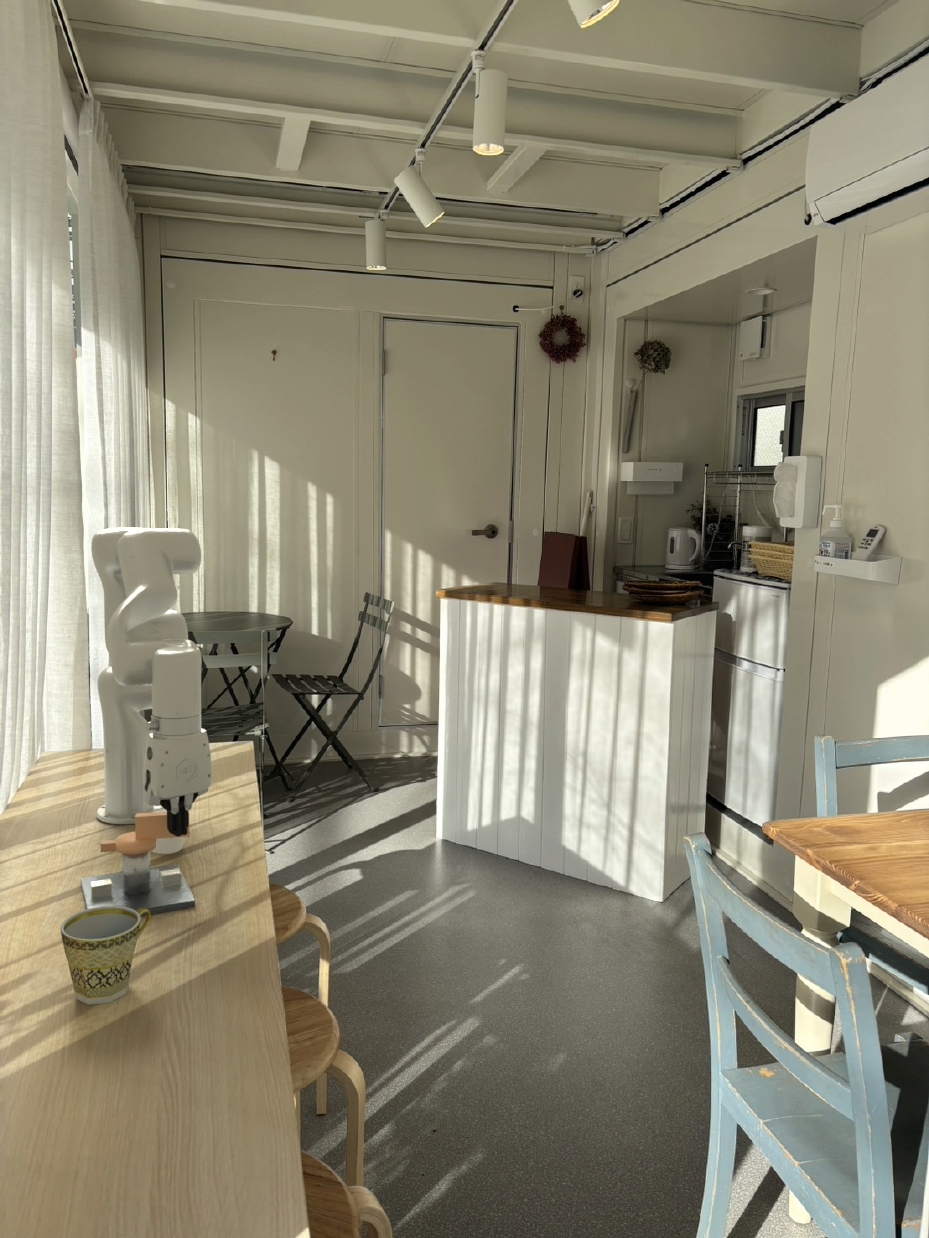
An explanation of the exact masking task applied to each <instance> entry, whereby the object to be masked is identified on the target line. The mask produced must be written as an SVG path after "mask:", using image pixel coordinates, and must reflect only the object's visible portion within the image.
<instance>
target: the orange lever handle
mask: <svg viewBox="0 0 929 1238" xmlns="http://www.w3.org/2000/svg"><path fill="white" fill-rule="evenodd" d="M188 816H189V817H190V810H189V811H188ZM134 825H135V829H134V831H129V832H125V833H122V834H120V835H118V836H116V838H115V839H112V840H101V841H100V842H101V843H100V853H107V852H109V853H111V852H117V853H118V854H121V855H122V854H127V855H135V854H142V853H146V852H149V851H150V852H152V850H153V849H155V847H156V839H161V838H176V837H177V836H175V835H173V834H171V833H169V830H168V829H167V812H153V813H137V814H136V815H135V823H134ZM179 837H183V838H187V837H190V824H189V825H188V827H187V834H186V835H181V836H179Z"/></svg>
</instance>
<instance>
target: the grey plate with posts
mask: <svg viewBox="0 0 929 1238" xmlns="http://www.w3.org/2000/svg"><path fill="white" fill-rule="evenodd" d="M121 868H122V869H121V870H122V871H119V872H111V873H104V874H98V875H92V876H84V877H80V887H81V891H82V897H83V900H84V904H85V910H87V909H91V908H95V907H102V906H121V907H127V908H130V909H133V910H137V909H139V908H146V909H148V910H149V911H150V914H151V916H152V915H156V914H163V913H169V912H175V911H180V910H181V911H182V910H186V909H192V908H193V909H194V908H196V900H195V897H194V895H193V893H192V891H191V889H190V887H189V885H188V882H187V880H186V879H185V876H184V874H183V873H182V870H181V869H180V866H179V864H178V863H173V864H168V865H167V864H166V865H160V866H152V867H151V851H149V852H146V853H142V854H135V855H127V854H121ZM140 917H147V913H146V912H144V913H143V914H142V915H141V916H140Z"/></svg>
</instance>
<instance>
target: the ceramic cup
mask: <svg viewBox="0 0 929 1238" xmlns="http://www.w3.org/2000/svg"><path fill="white" fill-rule="evenodd" d="M144 912H146V913H147V915H146V917H145V921H144V923H143V925H142V926H141V917H142V916H141V915H142V914H143V913H144ZM151 916H152V915H151V914H150V911H149V910H148V909H146V908H139V909H137V910H133V909H130V908H127V907H121V906H102V907H95V908H91V909H87V910H86V909H84V910H80V911H79V912H76V913H74V914H72V915H70V916H69V917H68V918H66V919H65V920H64V921H63V922H62V924H60V933H61V934H60V936H61V941H62V944H63V945H62V946H63V950H64V954H65V957H66V960H67V964H68V969H69V973H70V979H71V981H72V987H73V991H74V995H75V996H74V997H75V998H76V1000H77V1001H79V1002H82V1003H84V1004H86V1005H88V1006H89V1005H101V1004H111V1002H113V1001H115V1000H117V999H119V998H121V997H124V996H125V995H126V994H127V991H128V986H129V982H130V976H131V969H132V963H133V959H134V958H133V957H134V952H135V950H136V946H137V942H138V939H139V937H140V936H141V935H142V933H143V932H144V931H145V929H146V928H147V927H148V926H149V924H150V921H151Z"/></svg>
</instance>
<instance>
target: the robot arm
mask: <svg viewBox="0 0 929 1238" xmlns="http://www.w3.org/2000/svg"><path fill="white" fill-rule="evenodd" d="M90 544H91V545H90V546H91V547H90V548H91V549H90V550H91V557H92V561H93V564H94V568H95V570H96V572H97V574H98V577H99V579H100V582H101V586H102V588H103V589H102V590H103V608H104V609H103V613H104V614H103V617H104V618H103V619H104V622H103V623H104V641H105V643H104V644H105V649H106V651H107V652H108V658H109V663H110V666H107V667H105V668H104V669H103V670H102V671H101V672H100V673H99V675H98V678H97V693H98V698H99V703H100V709H101V716H102V732H103V734H102V735H103V771H104V773H103V776H104V779H103V780H104V804H103V805H102V806H100V807H99V808H97V810H96V817H97V819H98V820H99V821H101V822H103V823H106V824H110V825H111V824H112V825H132V824H134V825H135V815H136V814H137V813H149V812H150V811H152V810H154V809H158V808H164V809H165V810H167V829H168V830H169V833H171V834H173V835H175V836H177V837H179V836H181V835H186V834H187V827H188V825H189V826H190V815H189V816H188V811H189V812H190V811H191V809H192V807H193V803H194V802H195V801H196V800H197V799H198V797H201V796H202V795H204V794H206V793H208V792H209V790H210V789H209V788H210V787H211V786H212V784H213V764H212V755H211V754H212V753H211V747H210V741H209V737H208V733H207V730H206V729H205V728H202V659H203V658H202V652H201V650H200V648H199V647H198V646H197V644H196V643H195V641H192V640H190V639H189V632H188V631H189V629H188V625H187V622H186V618H185V617H184V616H183V614H182V613H181V612H179V610H178V611H177V610H174V609H172V608H173V607H174V606H175V605H176V603H177V601H178V591H177V586H176V583H175V578H174V575H192V574H196V572H197V571H198V570H199V569H200V566H201V564H202V549H201V545H200V542H199V539H198V538H197V536H196V535H195V533H194V532H193V531H191V530H190V529H186V528H160V527H159V528H157V527H156V528H155V527H154V528H150V527H149V528H147V527H146V528H145V527H144V528H143V527H112V528H105V529H102V530H99V531H97V532H96V533H94V535H93V536H92V538H91V543H90ZM143 710H145V711H146V710H152V711H151V712H152V713H151V715H150V717H151V719H150V721H149V722H148V721H147V720H146V718H144V717H143V716H142V714H140V712H141V711H143Z"/></svg>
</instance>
